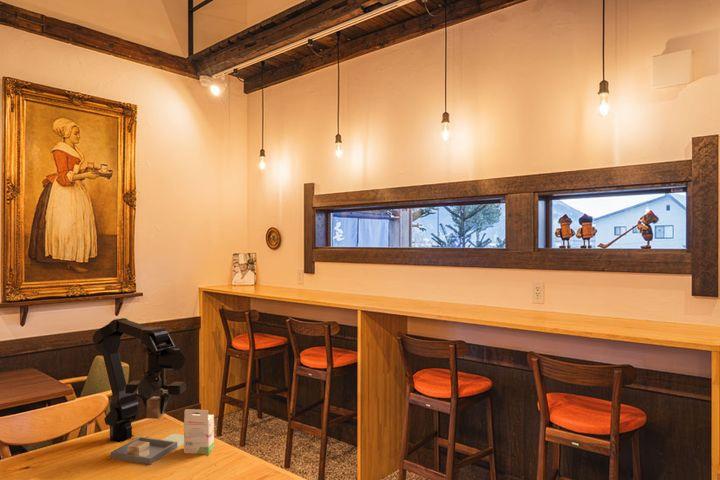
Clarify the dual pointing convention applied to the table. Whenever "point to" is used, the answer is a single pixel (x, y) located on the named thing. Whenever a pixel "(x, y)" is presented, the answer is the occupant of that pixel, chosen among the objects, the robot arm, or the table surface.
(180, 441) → the sage tile
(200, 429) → the ink box
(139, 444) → the beech box
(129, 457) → the grey tray
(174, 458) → the table surface
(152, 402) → the walnut box
